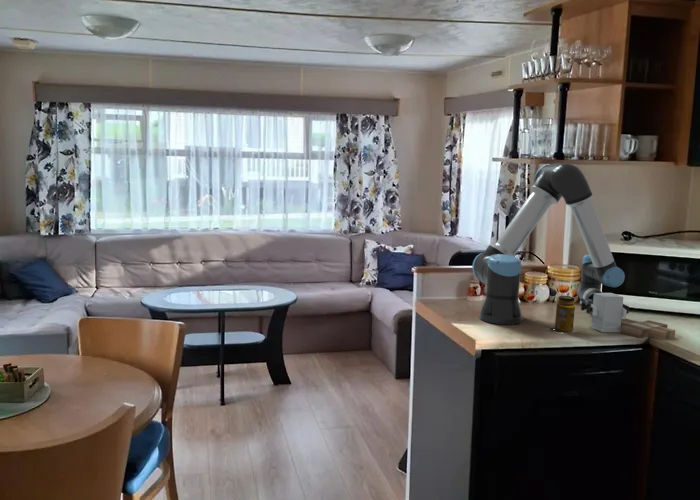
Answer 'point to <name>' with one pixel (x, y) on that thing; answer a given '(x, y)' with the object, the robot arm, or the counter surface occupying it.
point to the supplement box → (607, 312)
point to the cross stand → (646, 329)
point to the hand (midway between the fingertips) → (610, 313)
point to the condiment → (564, 315)
